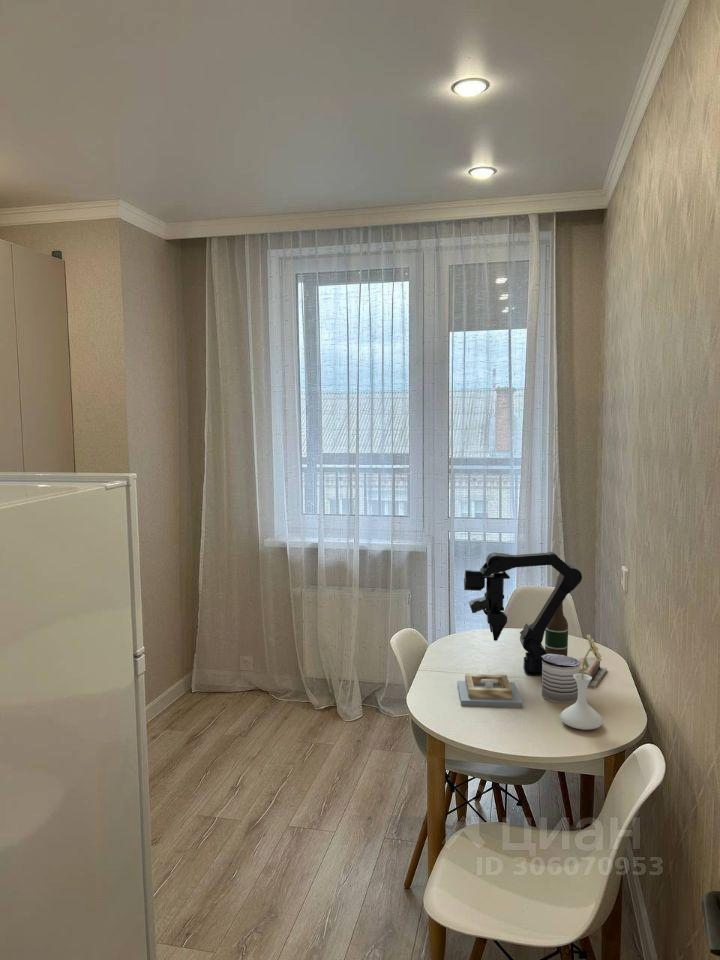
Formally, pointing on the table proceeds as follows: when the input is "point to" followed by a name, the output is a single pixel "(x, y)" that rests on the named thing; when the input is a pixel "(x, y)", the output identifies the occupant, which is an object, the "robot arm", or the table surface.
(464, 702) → the hook board
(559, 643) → the beer bottle
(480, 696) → the oak loop
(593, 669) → the packaged product
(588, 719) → the flower in vase
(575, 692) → the can
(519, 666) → the table surface
